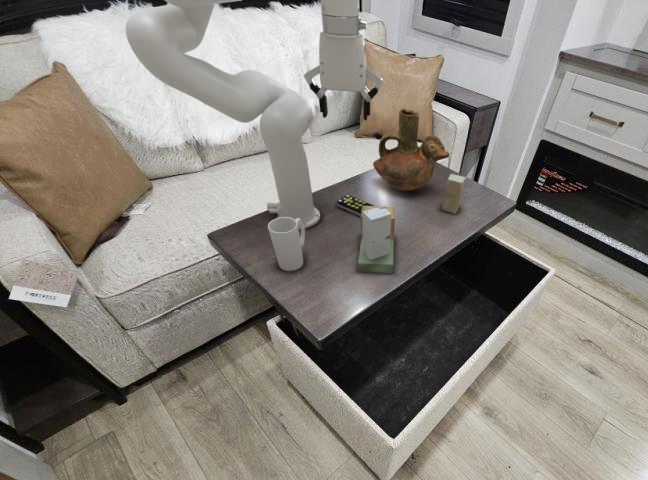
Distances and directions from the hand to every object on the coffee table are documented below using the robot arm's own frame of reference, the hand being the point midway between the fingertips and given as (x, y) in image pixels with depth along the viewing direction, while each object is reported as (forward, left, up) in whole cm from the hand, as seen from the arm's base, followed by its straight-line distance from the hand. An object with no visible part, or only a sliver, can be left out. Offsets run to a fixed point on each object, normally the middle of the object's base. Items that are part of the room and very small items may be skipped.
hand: (345, 117), depth 81 cm
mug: (-13, -18, -31) cm, 38 cm away
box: (+32, +12, -31) cm, 46 cm away
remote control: (+1, +9, -31) cm, 32 cm away
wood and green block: (+8, -13, -30) cm, 34 cm away
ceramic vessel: (+18, +25, -31) cm, 43 cm away
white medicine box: (+9, -17, -28) cm, 33 cm away
